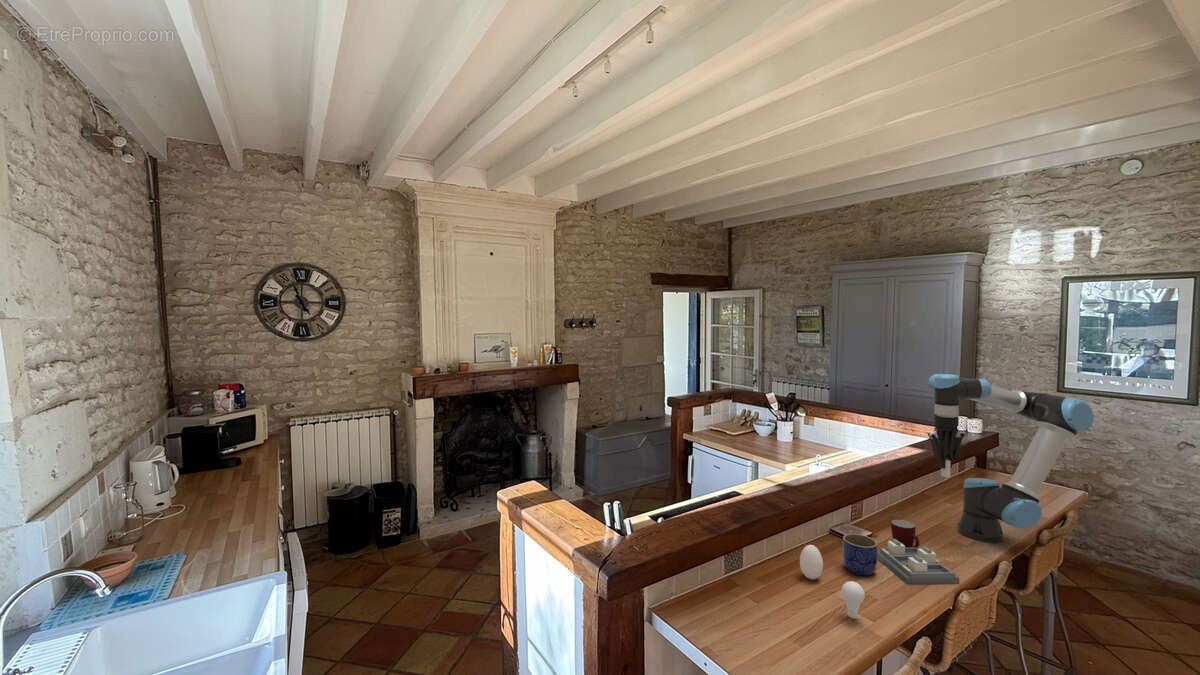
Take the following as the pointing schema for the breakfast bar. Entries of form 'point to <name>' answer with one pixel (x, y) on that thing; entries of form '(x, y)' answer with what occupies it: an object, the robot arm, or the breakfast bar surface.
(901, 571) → the switch bank
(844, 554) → the planter
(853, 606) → the lightbulb
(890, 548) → the tab
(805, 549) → the egg
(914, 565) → the white and grey block
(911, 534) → the mug
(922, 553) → the tab
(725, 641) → the breakfast bar surface
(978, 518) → the robot arm
